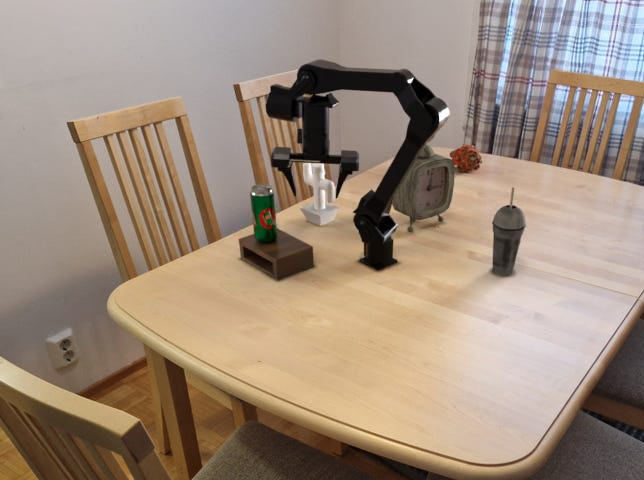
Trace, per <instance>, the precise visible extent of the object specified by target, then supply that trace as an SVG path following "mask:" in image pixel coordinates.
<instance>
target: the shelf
mask: <svg viewBox="0 0 644 480" xmlns="http://www.w3.org/2000/svg"><path fill="white" fill-rule="evenodd" d="M238 244H239V245H238V246H239V252H240V254H239V255H240V260H242V261H244V262H245V263H247V264H248V265H250V266H253V267H254V268H255V269H257V270H259V271H261V272H262V273H264V274H266V275H267V276H269V277H270V278H272V279H274V280H276V281H281V280H282V279H285V278H289V277H291V276H294V275H296V274H299V273H301V272H304V271H306V270H309V269H311V268H314V267H315V263H314V246H313V245H311V244H309V243H307V242H305V241H303V240H301V239H299V238H297V237H296V236H293V235H291V234H289V233H287V232H285V231H283V230H282V229H280V228H278V227H277V239H276V240H275V241H274V242H271V243H260V242H258V241H257V240H256V239H255V238H254V233H252V234H249V235H247V236H243V237H240V238H238Z"/></svg>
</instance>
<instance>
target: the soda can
mask: <svg viewBox="0 0 644 480" xmlns="http://www.w3.org/2000/svg"><path fill="white" fill-rule="evenodd" d="M249 197H250V199H249V200H250V208H251V218H252V226H253V227H252V228H253V234H254V238H255V239H256V240H257V241H258V242H260V243H271V242H274V241H275V240H276V239H277V228H278V227H277V225H278V224H277V214H276V202H275V201H276V199H275V191H274V190H273V186H271V185H270V184H265V183H259V184H254V185H252V186H251V188H250V192H249Z"/></svg>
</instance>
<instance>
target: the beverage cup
mask: <svg viewBox="0 0 644 480" xmlns="http://www.w3.org/2000/svg"><path fill="white" fill-rule="evenodd" d="M514 194H515V187H511V193H510V202H509V204H506V205H503V206H502V207H500V208H499V209H498V210H497V211H496V212H495V214H494V216H493V219H492V222H491V223H492V233H493V234H492V237H493V238H492V264H491V265H492V273H493V274H495V275H497V276H500V277H508V276H511V275H513V271H514V268H515V266H516V265H515V264H516V261H517V256H518V252H519V249H520V244H521V240H522V236H523V235H524V232H525V228H526V225H527V224H526V216H525V213H524V211H523V210H522V209H521V208H520V207H518V206H517V205H515V204H513V203H514Z"/></svg>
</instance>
